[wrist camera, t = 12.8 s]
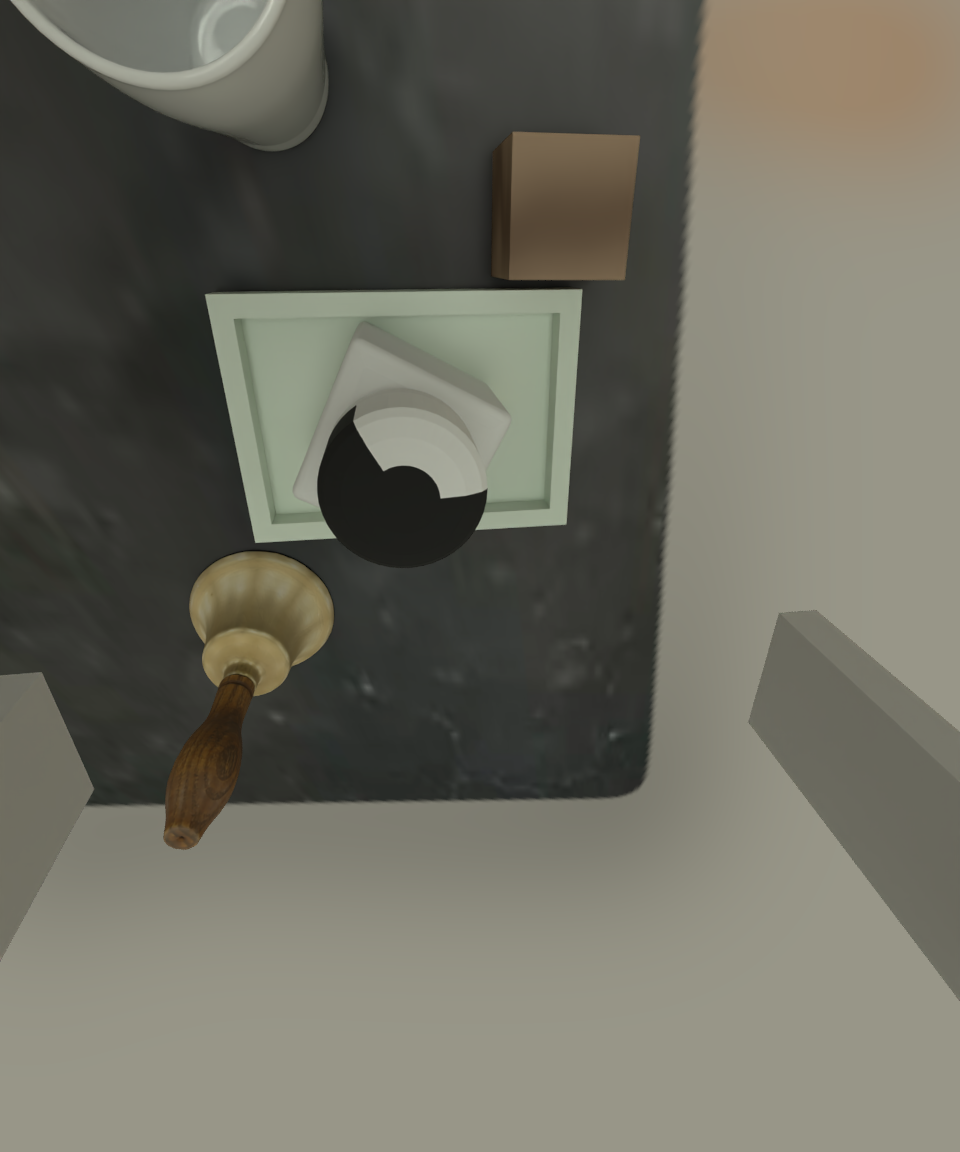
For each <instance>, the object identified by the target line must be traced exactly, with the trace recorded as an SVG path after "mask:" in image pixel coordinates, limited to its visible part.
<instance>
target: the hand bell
mask: <svg viewBox="0 0 960 1152" xmlns="http://www.w3.org/2000/svg"><path fill="white" fill-rule="evenodd" d="M189 608H190V616H191V619H192V622H193V625H194V627H195V630H196V631H197V633H198V635H199V637H200V638H201V639H202V640H203V642H204V643H205V647H204V650H203V655H202V662H203V667H204V670H205V672H206V674H207V676H208V677H209V679H210V680H211V681H212V682H213V683H214V684H215V685H216V686H218V691H217V694H216V697H215V700H214V703H213V706H212V708H211V711H210V714H209V715H208V717H207V719H206V720H205V722H204V723H203V724H202V725H201V726H200V727H199V728H198V729H197V730H196V731H195V732H194V733H193V734H192V736H191V737H190V738H189V739H188V741H187V742H186V744H185V745H184V747H183V748H182V750H181V752H180V754H179V755H178V757H177V759H176V761H175V763H174V766H173V768H172V770H171V773H170V776H169V779H168V783H167V789H166V799H165V809H166V823H165V830H164V841H165V843H166V844H167V845H168V846H170V847H172V848H175V849H183V850H184V849H185V850H186V849H189V848H192V847H194V846H195V845H197V844H198V842H199V840H200V839H201V837H202V835H203V834H204V832H205V831H206V829H207V828H208V826H209V825H210V824H211V823H212V821H213V820H214V819H215V818H216V817H217V815H218V814H219V813H220V812H221V810H222V809H223V808H224V806H225V805H226V803H227V801H228V800H229V798H230V796H231V794H232V792H233V789H234V786H235V784H236V781H237V778H238V775H239V770H240V765H241V758H242V737H241V728H242V723H243V719H244V717H245V714H246V712H247V709H248V707H249V704H250V701H251V699H252V697H253V696H258V695H262V694H265V693H268V692H270V691H272V690H274V689H275V688H277V687H278V686H279V685H280V684H282V682H283V681H284V680H285V679H286V677H287V675H288V673H289V670H290V668H291V666H293V665H296V664H299V663H301V662H303V661H304V660H306V659H308V658H309V657H311V656H312V655H313V654H315V653H316V652H317V651H318V650H319V649H320V648H321V647H322V646H323V645H324V643H325V642H326V640H327V639H328V637H329V635H330V633H331V630H332V627H333V622H334V608H333V603H332V599H331V596H330V594H329V592H328V590H327V588H326V586H325V585H324V583H323V582H322V581H321V580H320V579H319V577H318V576H317V575H316V574H314V573H313V572H312V571H311V570H309V569H308V568H307V567H306V566H305V565H303V564H301V563H299V562H298V561H296V560H294V559H292V558H288V557H286V556H284V555H281V554H277V553H271V552H261V551H247V552H240V553H236V554H233V555H229V556H226V557H224V558H222V559H220V560H218V561H216V562H215V563H213V564H212V565H210V566H209V567H208V568H207V569H206V570H205V571H203V572H202V574H201V575H200V576H199V577H198V579H197V581H196V582H195V584H194V586H193V589H192V592H191V596H190V604H189Z"/></svg>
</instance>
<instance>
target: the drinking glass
mask: <svg viewBox="0 0 960 1152" xmlns="http://www.w3.org/2000/svg"><path fill="white" fill-rule="evenodd" d="M10 1H11V2H12V3H13V4H14V5H15V7H16V8H17V9H18V10H19V11H20V12H21V13H22V14H23V16H24V17H25V18H26V19H27V20H28V21H29V22H30V23H32V24H33V25H34V26H35V27H36V28H37V29H38V30H39V31H40V32H41V33H42V34H43V35H44V36H46V37H47V38H48V39H49V40H50V41H51V42H53V43H54V44H55V45H56V46H57V47H59V48H60V49H62V50H63V51H64V52H66V53H67V54H69V55H70V56H71V57H72V58H74V59H75V60H76V61H78V62H79V63H80V64H82V65H83V66H84V67H86V68H87V69H88V70H90V71H91V72H93V73H94V74H95V75H97V76H98V77H99V78H101V79H102V80H104V81H105V82H106V83H108V84H109V85H111V86H112V87H114V88H116V89H117V90H119V91H120V92H122V93H124V94H125V95H127V96H129V97H130V98H132V99H134V100H135V101H137V102H139V103H141V104H142V105H144V106H146V107H148V108H150V109H152V110H154V111H156V112H158V113H160V114H162V115H165V116H167V117H169V118H172V119H175V120H177V121H180V122H182V123H185V124H188V125H191V126H194V127H198V128H201V129H205V130H208V131H212V132H215V133H218V134H222V135H225V136H228V137H231V138H234V139H235V140H237V141H239V142H240V143H242V144H244V145H246V146H249V147H251V148H254V149H258V150H263V151H282V150H287V149H290V148H292V147H294V146H297V145H298V144H300V143H302V142H303V141H304V140H305V139H307V138H308V137H309V136H310V135H311V134H312V132H313V131H314V130H315V129H316V127H317V125H318V124H319V122H320V120H321V118H322V116H323V113H324V110H325V107H326V103H327V98H328V89H329V76H328V66H327V60H326V56H325V52H324V31H323V0H10Z"/></svg>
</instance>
